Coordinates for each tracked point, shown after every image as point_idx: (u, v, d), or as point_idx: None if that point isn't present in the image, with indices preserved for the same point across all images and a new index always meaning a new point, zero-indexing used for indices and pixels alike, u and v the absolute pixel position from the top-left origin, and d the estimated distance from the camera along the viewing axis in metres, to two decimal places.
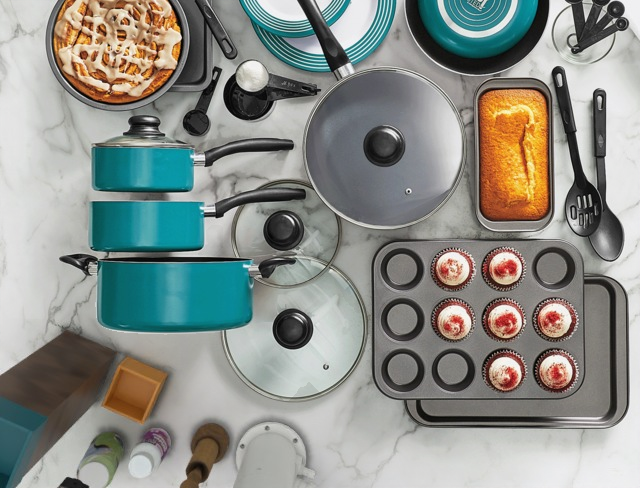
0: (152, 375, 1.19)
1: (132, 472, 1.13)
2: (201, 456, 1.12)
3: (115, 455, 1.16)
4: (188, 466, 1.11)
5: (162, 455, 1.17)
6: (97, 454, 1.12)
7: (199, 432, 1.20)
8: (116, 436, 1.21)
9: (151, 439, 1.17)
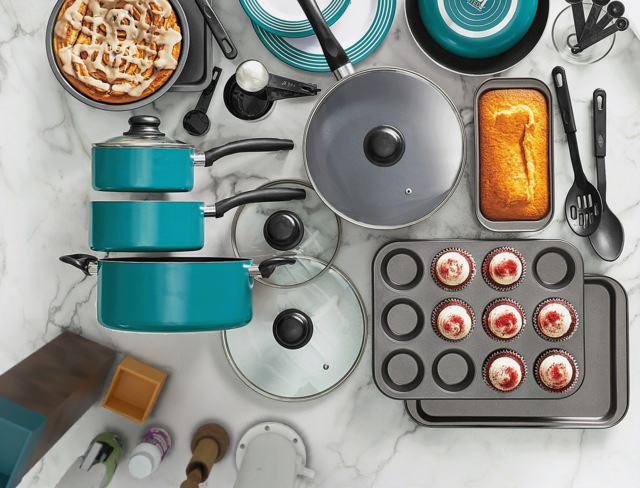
0: (152, 375, 1.19)
1: (132, 472, 1.13)
2: (201, 456, 1.12)
3: (113, 457, 1.15)
4: (188, 466, 1.11)
5: (162, 455, 1.17)
6: None
7: (199, 432, 1.20)
8: (115, 437, 1.21)
9: (151, 439, 1.17)
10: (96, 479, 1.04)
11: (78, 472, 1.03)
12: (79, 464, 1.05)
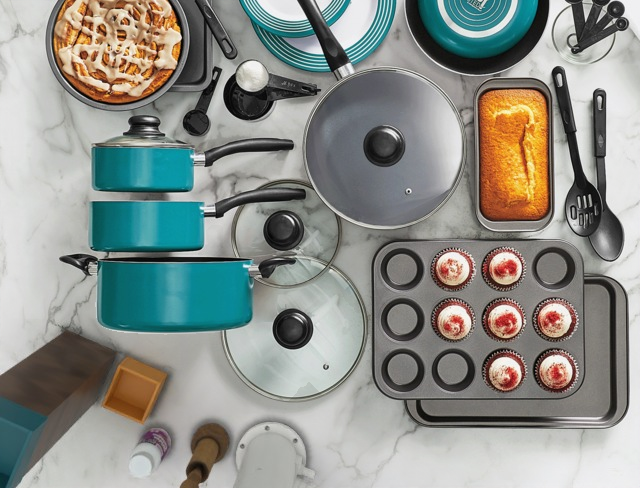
0: (152, 375, 1.19)
1: (132, 472, 1.13)
2: (201, 456, 1.12)
3: None
4: (188, 466, 1.11)
5: (162, 455, 1.17)
6: None
7: (199, 432, 1.20)
8: None
9: (151, 439, 1.17)
10: None
11: None
12: None
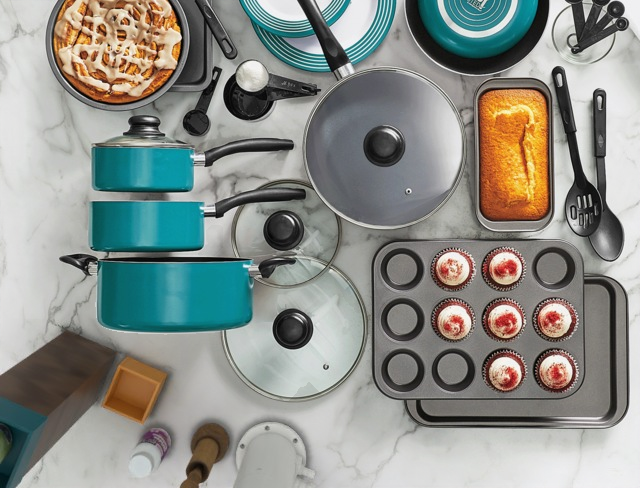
0: (152, 375, 1.19)
1: (132, 472, 1.13)
2: (201, 456, 1.12)
3: None
4: (188, 466, 1.11)
5: (162, 455, 1.17)
6: None
7: (199, 432, 1.20)
8: (1, 425, 0.92)
9: (151, 439, 1.17)
10: None
11: None
12: None
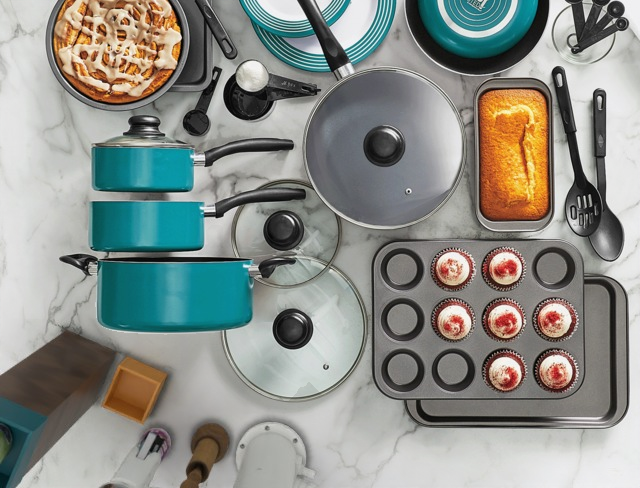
0: (152, 375, 1.19)
1: None
2: (201, 456, 1.12)
3: None
4: (188, 466, 1.11)
5: (162, 455, 1.17)
6: None
7: (199, 432, 1.20)
8: (1, 425, 0.92)
9: None
10: (152, 468, 1.06)
11: (135, 461, 1.05)
12: (135, 453, 1.07)
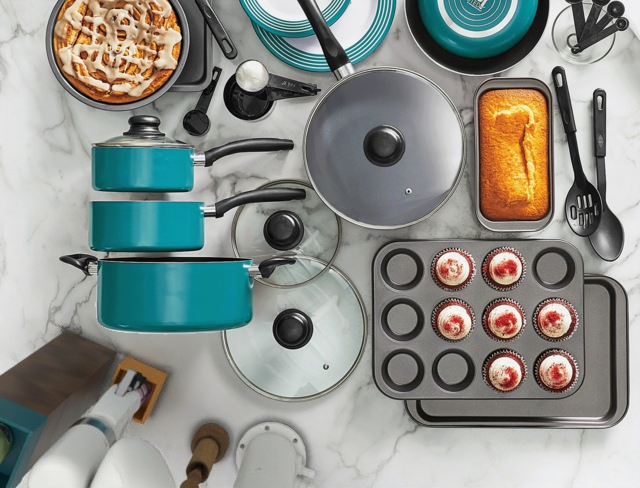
0: (152, 375, 1.19)
1: None
2: (201, 456, 1.12)
3: None
4: (188, 466, 1.11)
5: (142, 398, 1.16)
6: None
7: (199, 432, 1.20)
8: (1, 425, 0.92)
9: None
10: (131, 404, 1.06)
11: (114, 397, 1.05)
12: (114, 390, 1.07)
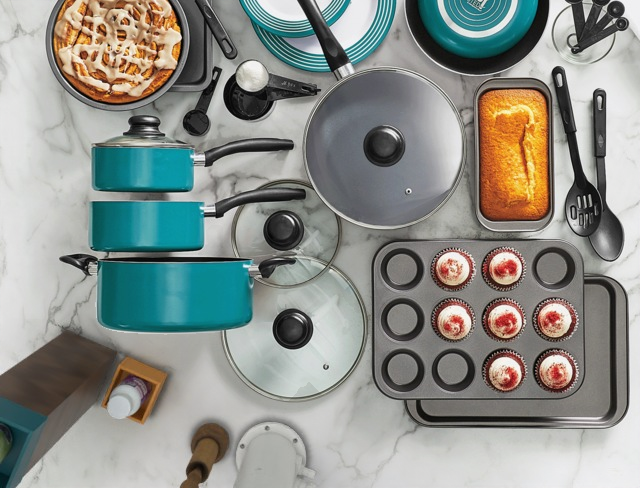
0: (152, 375, 1.19)
1: (111, 413, 1.12)
2: (201, 456, 1.12)
3: None
4: (188, 466, 1.11)
5: (142, 398, 1.16)
6: None
7: (199, 432, 1.20)
8: (1, 425, 0.92)
9: (130, 382, 1.17)
10: None
11: None
12: None
